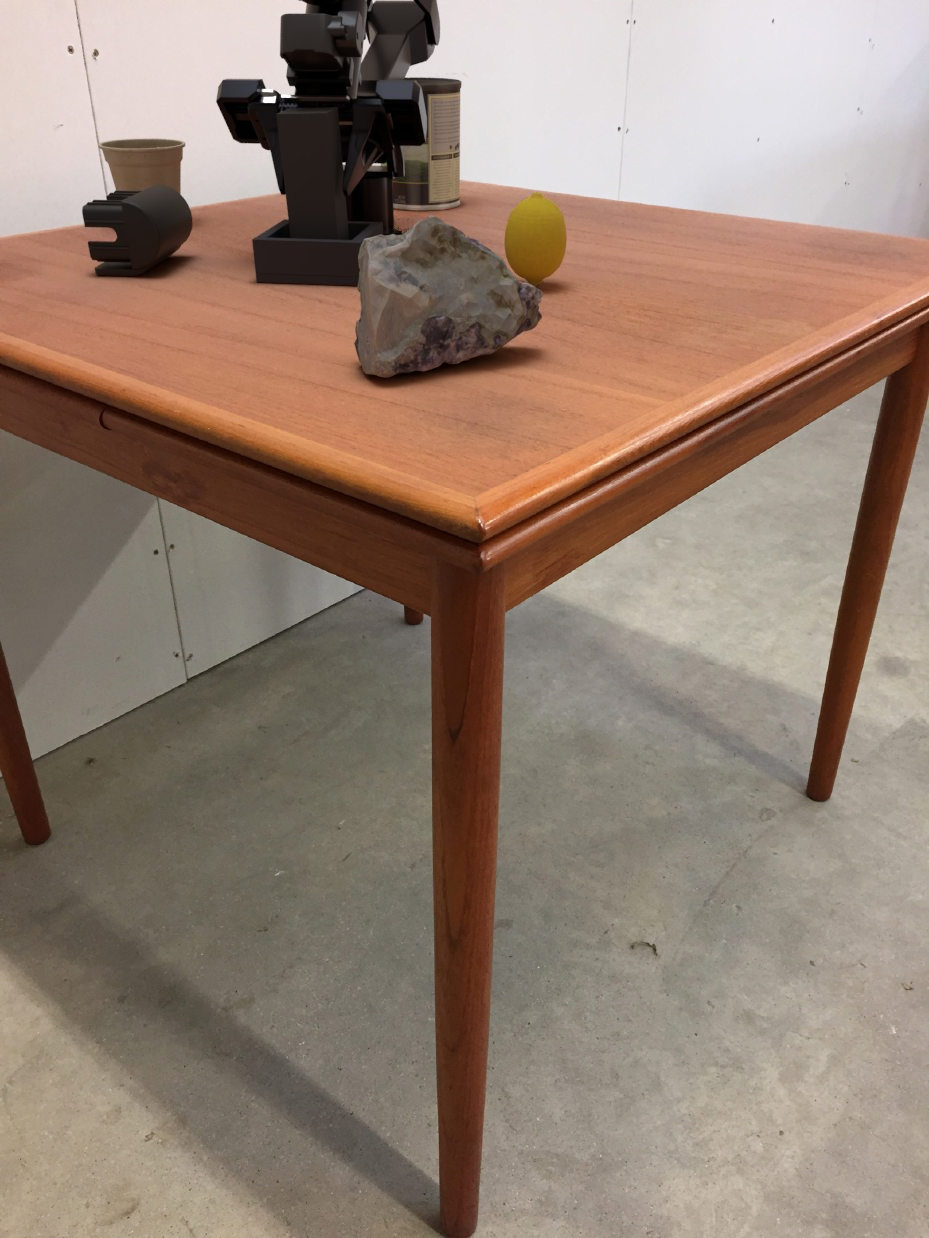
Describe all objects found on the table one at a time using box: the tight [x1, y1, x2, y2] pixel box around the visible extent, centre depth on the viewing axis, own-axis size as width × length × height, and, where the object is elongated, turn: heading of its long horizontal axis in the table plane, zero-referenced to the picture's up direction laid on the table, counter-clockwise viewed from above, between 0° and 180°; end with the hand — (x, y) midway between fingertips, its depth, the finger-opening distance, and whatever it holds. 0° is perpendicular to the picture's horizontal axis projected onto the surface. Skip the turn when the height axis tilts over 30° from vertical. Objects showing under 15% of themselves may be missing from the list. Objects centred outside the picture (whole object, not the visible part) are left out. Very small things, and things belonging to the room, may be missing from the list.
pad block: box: [276, 107, 349, 240], centre depth 93 cm, size 4×4×13 cm
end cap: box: [81, 184, 194, 277], centre depth 97 cm, size 10×7×7 cm
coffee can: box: [380, 76, 462, 212], centre depth 125 cm, size 10×10×14 cm
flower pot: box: [97, 137, 186, 195], centre depth 114 cm, size 9×9×9 cm
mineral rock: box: [353, 215, 544, 378], centre depth 69 cm, size 13×11×10 cm
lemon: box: [503, 191, 568, 287], centre depth 90 cm, size 6×6×8 cm
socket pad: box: [251, 218, 383, 287], centre depth 95 cm, size 10×10×4 cm
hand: (313, 192), depth 91 cm, fingers open, 6 cm apart
